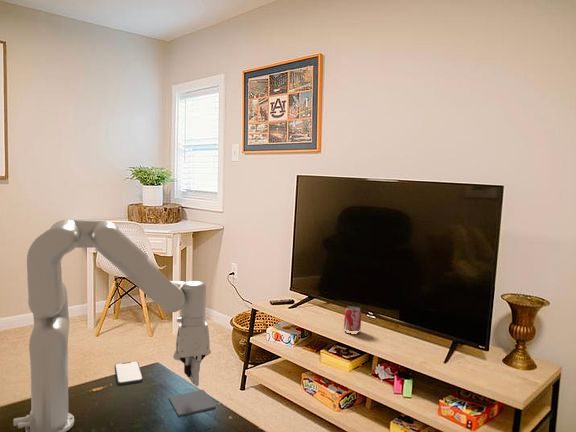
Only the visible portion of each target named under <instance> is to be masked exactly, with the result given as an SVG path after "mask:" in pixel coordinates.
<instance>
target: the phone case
mask: <svg viewBox="0 0 576 432" xmlns="http://www.w3.org/2000/svg"><path fill="white" fill-rule="evenodd" d="M114 372H115V373H114V374H115V379H116V383H117V385H118V386H125V385H130V384H131V385H132V384H138V383H142V382H143V381H144V378H143V375H142V370H141V367H140V364H139V362H138V361H136V360H134V361H127V362H121V363H120V362H119V363H115V365H114Z"/></svg>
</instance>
